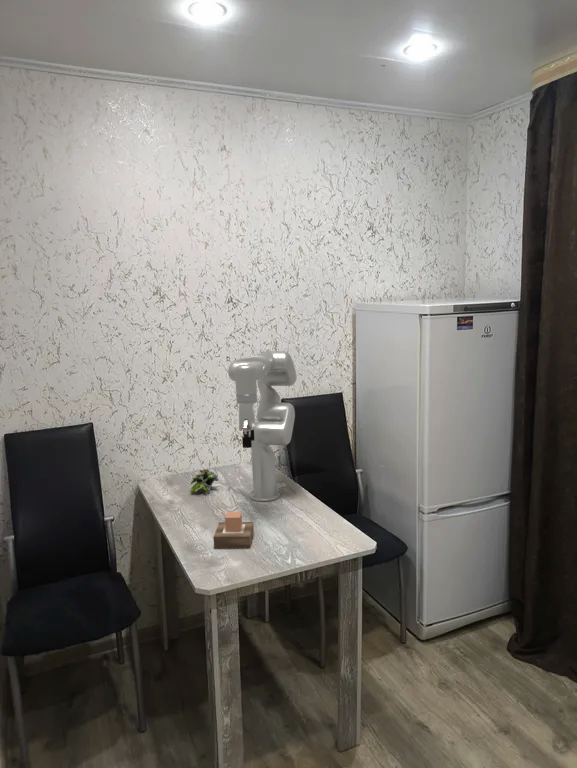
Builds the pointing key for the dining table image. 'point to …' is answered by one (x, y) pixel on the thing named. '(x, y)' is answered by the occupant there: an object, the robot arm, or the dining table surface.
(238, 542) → the walnut frame
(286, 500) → the dining table surface
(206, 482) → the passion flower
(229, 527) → the terracotta cube
